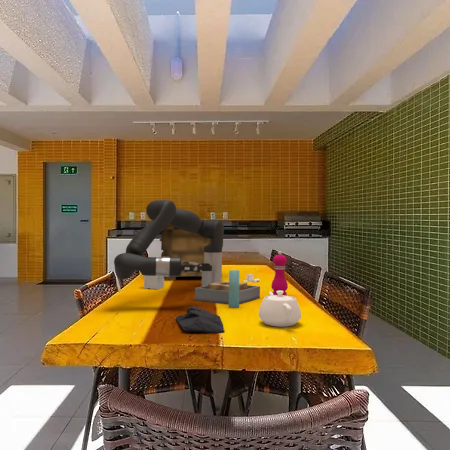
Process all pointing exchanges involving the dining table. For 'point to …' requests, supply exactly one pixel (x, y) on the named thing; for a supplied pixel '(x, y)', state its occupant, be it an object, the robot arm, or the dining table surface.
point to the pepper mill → (279, 274)
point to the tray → (226, 294)
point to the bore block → (225, 286)
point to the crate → (183, 247)
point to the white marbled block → (153, 282)
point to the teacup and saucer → (251, 278)
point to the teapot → (279, 310)
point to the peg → (233, 288)
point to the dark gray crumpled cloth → (200, 321)
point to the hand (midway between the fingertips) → (210, 267)
